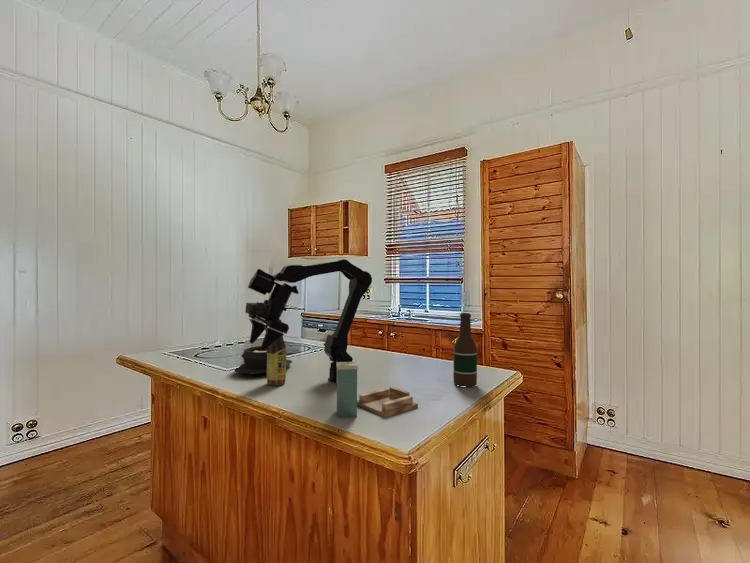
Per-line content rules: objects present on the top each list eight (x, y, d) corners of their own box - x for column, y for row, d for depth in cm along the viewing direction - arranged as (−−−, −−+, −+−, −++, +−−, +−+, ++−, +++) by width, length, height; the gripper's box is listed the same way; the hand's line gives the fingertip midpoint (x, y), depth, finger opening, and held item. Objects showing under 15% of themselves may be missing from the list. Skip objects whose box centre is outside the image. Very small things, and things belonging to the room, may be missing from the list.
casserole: (264, 381, 131) (264, 356, 131) (221, 376, 137) (221, 352, 137) (303, 366, 154) (303, 345, 154) (265, 362, 161) (265, 342, 161)
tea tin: (336, 410, 101) (336, 362, 101) (355, 410, 102) (355, 361, 102) (336, 417, 96) (337, 366, 96) (357, 416, 97) (357, 366, 97)
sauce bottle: (280, 387, 123) (281, 325, 123) (263, 385, 125) (263, 325, 125) (289, 381, 130) (289, 323, 130) (272, 380, 131) (272, 323, 131)
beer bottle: (478, 383, 129) (479, 312, 129) (474, 389, 122) (475, 314, 122) (456, 380, 133) (456, 311, 133) (450, 386, 126) (451, 313, 126)
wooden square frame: (385, 396, 114) (386, 384, 114) (417, 407, 104) (417, 394, 104) (354, 404, 106) (354, 392, 106) (385, 417, 97) (385, 403, 97)
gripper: (245, 287, 125) (223, 331, 122) (267, 295, 110) (243, 345, 108) (274, 300, 132) (254, 342, 129) (298, 309, 117) (276, 357, 114)
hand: (256, 346), depth 120 cm, fingers open, 9 cm apart
